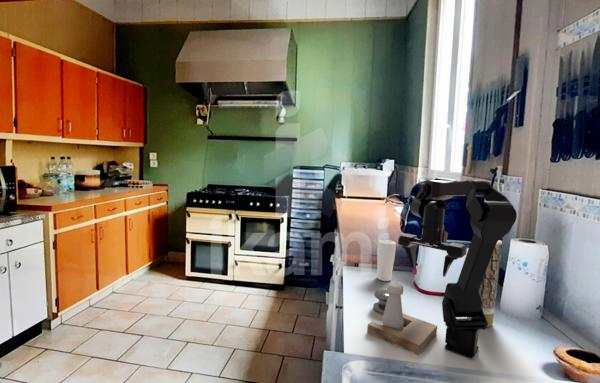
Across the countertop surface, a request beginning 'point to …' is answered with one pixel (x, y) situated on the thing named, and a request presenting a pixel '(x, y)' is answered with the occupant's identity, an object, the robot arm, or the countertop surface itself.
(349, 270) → the countertop surface
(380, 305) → the spool
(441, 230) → the robot arm
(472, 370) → the countertop surface
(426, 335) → the notched board
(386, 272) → the drinking glass
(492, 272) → the wooden log
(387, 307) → the salt shaker
